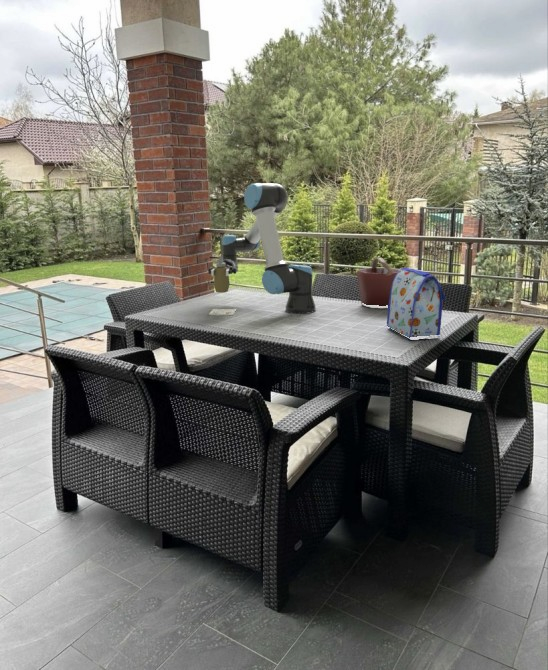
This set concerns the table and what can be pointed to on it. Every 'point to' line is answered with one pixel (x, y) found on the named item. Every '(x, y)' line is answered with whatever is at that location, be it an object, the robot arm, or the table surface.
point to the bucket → (376, 283)
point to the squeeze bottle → (221, 277)
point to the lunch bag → (415, 304)
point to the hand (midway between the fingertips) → (219, 273)
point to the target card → (222, 312)
